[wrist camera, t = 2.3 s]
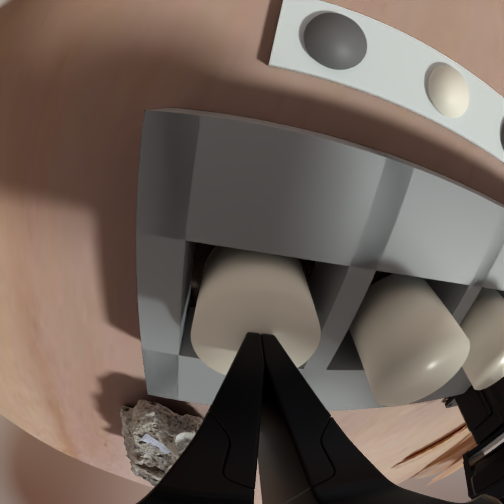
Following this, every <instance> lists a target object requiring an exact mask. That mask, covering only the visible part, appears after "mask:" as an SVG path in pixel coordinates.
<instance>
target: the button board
mask: <svg viewBox="0 0 504 504" xmlns="http://www.w3.org/2000/svg"><path fill="white" fill-rule="evenodd" d="M195 242H198V243H205V244H211V245H217V246H224V247H230V248H237V249H243V250H249V251H256V252H262V253H269V254H275V255H281V256H288V257H294V258H300V259H307V260H313V261H315V264H314V267H313V270H312V273H311V276H310V279H309V282H308V287H309V290H310V293H311V297H312V300H313V303H314V307H315V310H316V314H317V317H318V320H319V324H320V329H321V337H320V342H319V344H318V347H317V349H316V350H315V352H314V354H313V355H312V356H311V357H310V358H309V359H308V360H307V361H306V362H305V363H304V364H303V365H301V366H300V367H298V370H299V371H300V373H301V374H302V375H303V377H304V378H305V380H306V381H307V383H308V384H309V385H310V387H311V388H312V390H313V391H314V392H315V394H316V395H317V397H318V398H319V399H320V401H321V402H322V404H323V405H324V406H325V408H326V409H327V411H336V410H355V409H368V408H379V407H389V406H383V405H380V404H378V403H377V402H376V401H375V399H374V396H373V393H372V391H371V388H370V385H369V382H368V379H367V376H366V373H365V370H364V368H363V365H362V362H361V359H360V357H359V354H358V351H357V348H356V346H355V343H354V340H353V338H352V335H351V332H350V330H349V327H350V325H351V323H352V321H353V319H354V317H355V315H356V313H357V311H358V309H359V307H360V305H361V303H362V300H363V298H364V296H365V294H366V292H367V290H368V288H369V285H370V283H371V281H372V279H373V277H374V274H375V272H376V270H377V271H383V272H389V273H396V274H402V275H408V276H415V277H421V278H423V279H424V280H425V281H426V282H427V283H428V285H429V286H430V287H431V288H432V290H433V291H434V292H435V294H436V295H437V296H438V297H439V299H440V300H441V301H442V303H443V304H444V305H445V307H446V308H447V309H448V311H449V312H450V314H451V315H452V316H453V318H454V319H455V320H456V322H457V323H458V325H460V323H461V322H462V320H463V319H464V317H465V315H466V314H467V312H468V311H469V309H470V307H471V306H472V304H473V302H474V301H475V299H476V297H477V295H478V294H479V292H480V290H481V288H482V287H484V288H490V289H496V290H497V291H498V292H499V294H500V295H501V296H502V297H503V298H504V205H503V204H502V203H500V202H498V201H496V200H494V199H492V198H490V197H488V196H486V195H484V194H482V193H481V192H479V191H476V190H474V189H472V188H470V187H468V186H466V185H464V184H462V183H460V182H458V181H455V180H453V179H451V178H449V177H446V176H444V175H442V174H439V173H437V172H435V171H432V170H430V169H427V168H425V167H422V166H420V165H417V164H415V163H412V162H410V161H407V160H404V159H402V158H399V157H396V156H393V155H390V154H388V153H385V152H382V151H379V150H376V149H373V148H370V147H367V146H363V145H360V144H357V143H354V142H350V141H347V140H343V139H340V138H336V137H333V136H329V135H325V134H322V133H318V132H314V131H310V130H306V129H302V128H297V127H293V126H289V125H284V124H279V123H274V122H270V121H264V120H259V119H254V118H248V117H242V116H236V115H230V114H223V113H216V112H209V111H200V110H192V109H182V108H162V109H152V110H145V111H144V118H143V127H142V136H141V146H140V157H139V170H138V186H137V210H136V271H137V295H138V311H139V324H140V336H141V346H142V355H143V363H144V371H145V378H146V385H147V392H148V395H153V396H158V397H163V398H169V399H174V400H180V401H186V402H193V403H199V404H207V405H211V404H212V402H213V400H214V398H215V396H216V394H217V392H218V390H219V388H220V386H221V384H222V382H223V380H224V378H225V376H226V375H224V374H221V373H219V372H217V371H215V370H213V369H212V368H210V367H209V366H207V365H206V364H205V363H204V362H203V361H202V360H201V359H200V358H199V357H198V356H197V354H196V352H195V351H194V349H193V346H192V342H191V329H192V324H193V319H194V314H195V309H196V308H193V307H190V294H191V283H192V272H193V262H194V252H195ZM471 385H472V384H471V382H470V380H469V379H468V377H467V375H466V373H465V371H464V370H463V368H462V367H461V368H460V369H459V371H458V372H457V373H456V374H455V375H454V376H453V377H452V378H451V379H450V380H449V381H448V382H447V383H446V384H444V385H443V386H442V387H440V388H439V389H438V390H436V391H435V392H433V393H431V394H430V395H428V396H426V397H424V398H422V399H420V400H417V401H415V402H412V403H418V402H424V401H430V400H436V399H441V398H446V397H451V396H455V395H460V394H464V393H465V392H466V390H467V389H468V388H469V387H470V386H471ZM412 403H409V404H412Z"/></svg>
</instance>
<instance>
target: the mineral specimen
mask: <svg viewBox="0 0 504 504" xmlns="http://www.w3.org/2000/svg"><path fill="white" fill-rule="evenodd" d="M120 418H121V420H122V426H123V427H122V431H121V434H122V436H123V437H124V445H125V446H126V450H127V455H126V456H127V457H128V458H129V459H130V460H131V462H130V463H131V466H132V468H131V470H132V471H133V472H134V474H135V475H136V476H140V477H143V479H144V480H147V481H149V482H150V483H151V484H152V485H153V486H156V485H157V484H158V483H159V481H160V480H161V479H162V478H163V477H164V475H165V474H166V473H167V472H168V470H169V469H170V468H171V467H172V465H173V464H174V463H175V461H176V460H177V459H178V458H179V456H180V455H181V454H182V452H183V451H184V450H185V448H186V447H187V446H188V444H189V443H190V441H191V440H192V438H193V437H194V435H195V434H196V432H197V430H198V429H199V427H200V425H201V423H202V421H203V420H202V418H200V417H196V416H192V415H188V414H187V415H186V414H185V415H184V416H179V415H178V414H177V413H173V412H172V410H169V409H168V408H166V407H165V406H163V405H161V404H159V403H156V402H155V403H154V402H148V401H146V400H138V404H137V405H135V407H134V408H130V407H127V406H122V407H121V412H120Z"/></svg>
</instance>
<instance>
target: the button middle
mask: <svg viewBox="0 0 504 504" xmlns="http://www.w3.org/2000/svg"><path fill="white" fill-rule="evenodd" d="M349 330H350V332H351V335H352V338H353V340H354V343H355V346H356V348H357V351H358V354H359V357H360V359H361V362H362V365H363V368H364V370H365V373H366V376H367V379H368V382H369V385H370V388H371V391H372V393H373V396H374V399H375V401H376V402H377V403H378V404H380V405H383V406H390V407H393V406H401V405H406V404H409V403H412V402H415V401H417V400H420V399H422V398H424V397H426V396H428V395H430V394H431V393H433V392H435V391H436V390H438V389H439V388H440V387H442V386H443V385H444V384H446V383H447V382H448V381H449V380H450V379H451V378H452V377H453V376H454V375H455V374H456V373H457V372H458V371H459V369H460V368H461V367H462V365H463V364H464V362H465V360H466V358H467V356H468V354H469V350H470V342H469V339H468V338H467V336H466V335H465V333H464V332H463V330H462V329H461V327H460V326H459V325H458V323H457V322H456V320H455V319H454V318H453V316H452V315H451V314H450V312H449V311H448V309H447V308H446V307H445V305H444V304H443V303H442V301H441V300H440V299H439V297H438V296H437V295H436V294H435V292H434V291H433V290H432V288H431V287H430V286H429V285H428V283H427V282H426V281H425V280H424V279H423V278H421V277H415V276H408V275H402V274H392V275H389V276H387V277H384V278H382V279H380V280H379V281H377V282H375V283H374V284H372V285H371V286H370V287H369V288H368V290H367V292H366V294H365V296H364V298H363V300H362V303H361V305H360V307H359V309H358V311H357V313H356V315H355V317H354V319H353V321H352V323H351V325H350V327H349Z"/></svg>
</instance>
